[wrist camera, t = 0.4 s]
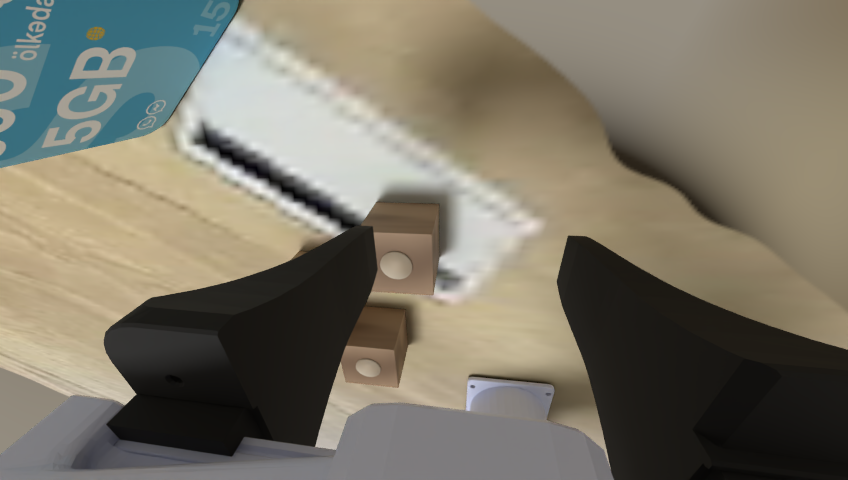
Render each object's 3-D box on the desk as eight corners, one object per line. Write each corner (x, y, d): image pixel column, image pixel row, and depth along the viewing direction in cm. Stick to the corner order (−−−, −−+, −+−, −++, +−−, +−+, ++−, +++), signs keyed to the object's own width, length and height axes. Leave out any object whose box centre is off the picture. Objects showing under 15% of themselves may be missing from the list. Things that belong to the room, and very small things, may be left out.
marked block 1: (439, 257, 24) (433, 296, 20) (380, 254, 24) (362, 292, 20) (439, 203, 21) (431, 235, 17) (374, 201, 22) (353, 232, 18)
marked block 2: (408, 344, 29) (397, 389, 25) (360, 340, 30) (343, 383, 26) (405, 308, 27) (393, 351, 23) (354, 304, 27) (334, 346, 23)
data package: (161, 133, 22) (-122, 198, 11) (99, 77, 20) (-288, 93, 10) (251, -9, 17) (-101, -124, 6) (178, -96, 15) (-427, -423, 5)
